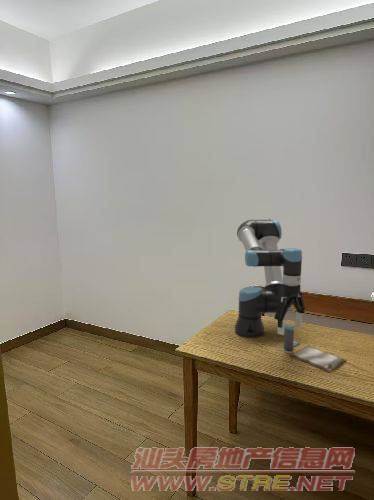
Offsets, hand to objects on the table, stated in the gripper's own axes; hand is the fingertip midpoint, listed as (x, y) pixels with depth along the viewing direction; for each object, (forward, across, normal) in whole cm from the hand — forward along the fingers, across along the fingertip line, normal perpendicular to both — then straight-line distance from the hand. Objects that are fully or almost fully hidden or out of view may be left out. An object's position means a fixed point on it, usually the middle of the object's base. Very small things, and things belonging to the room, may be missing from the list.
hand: (289, 330), depth 149 cm
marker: (+10, 0, 0) cm, 11 cm away
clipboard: (+10, +4, -12) cm, 16 cm away
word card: (+10, +8, +3) cm, 14 cm away
